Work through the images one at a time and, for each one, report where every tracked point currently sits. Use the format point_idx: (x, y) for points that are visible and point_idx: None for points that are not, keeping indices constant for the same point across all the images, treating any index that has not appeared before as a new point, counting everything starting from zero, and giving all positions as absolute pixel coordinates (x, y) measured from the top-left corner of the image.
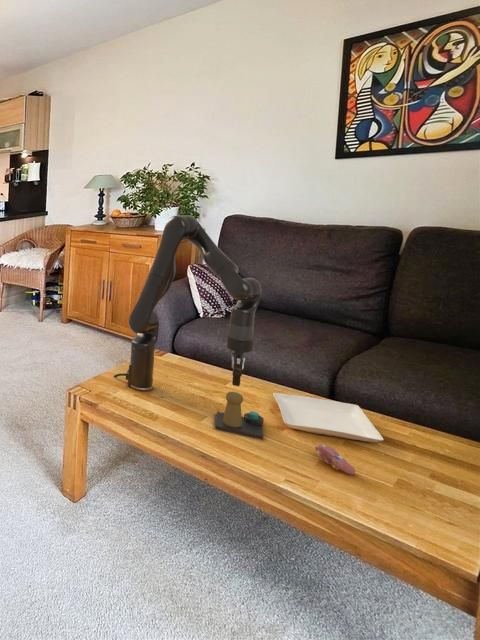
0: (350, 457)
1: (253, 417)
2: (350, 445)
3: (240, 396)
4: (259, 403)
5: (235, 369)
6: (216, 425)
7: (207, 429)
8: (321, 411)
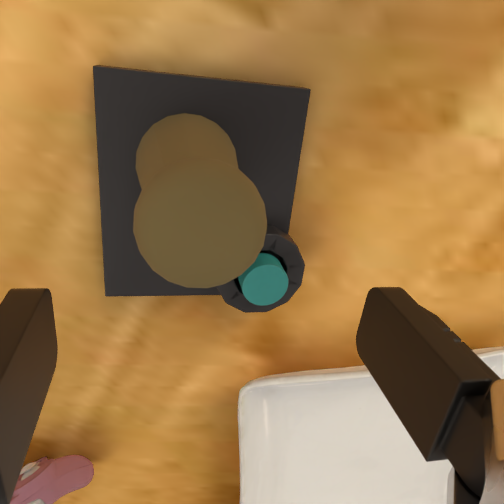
0: (137, 500)
1: (240, 276)
2: (225, 498)
3: (176, 280)
4: (479, 284)
5: (418, 370)
6: (98, 70)
7: (68, 11)
8: None
